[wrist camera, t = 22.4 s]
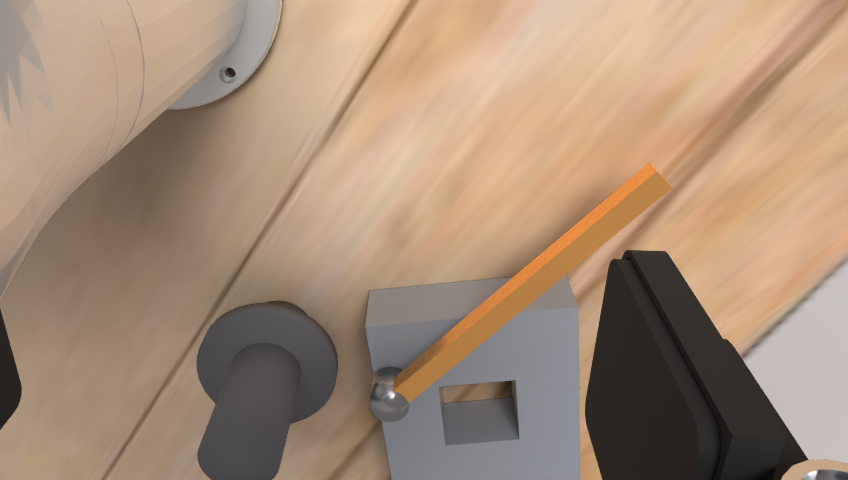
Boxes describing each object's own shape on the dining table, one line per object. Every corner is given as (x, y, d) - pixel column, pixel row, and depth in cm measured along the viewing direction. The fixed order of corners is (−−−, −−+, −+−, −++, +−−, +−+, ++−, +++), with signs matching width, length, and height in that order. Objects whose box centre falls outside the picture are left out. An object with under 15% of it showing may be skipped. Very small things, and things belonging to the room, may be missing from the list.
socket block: (397, 460, 50) (396, 504, 46) (369, 290, 44) (364, 326, 40) (568, 445, 49) (580, 489, 46) (565, 271, 43) (578, 307, 40)
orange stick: (391, 402, 42) (390, 428, 40) (364, 382, 42) (361, 407, 40) (664, 177, 36) (678, 194, 34) (637, 148, 35) (650, 164, 33)
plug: (232, 383, 47) (180, 524, 37) (203, 279, 43) (135, 402, 33) (352, 372, 47) (333, 511, 36) (332, 266, 43) (304, 387, 33)
